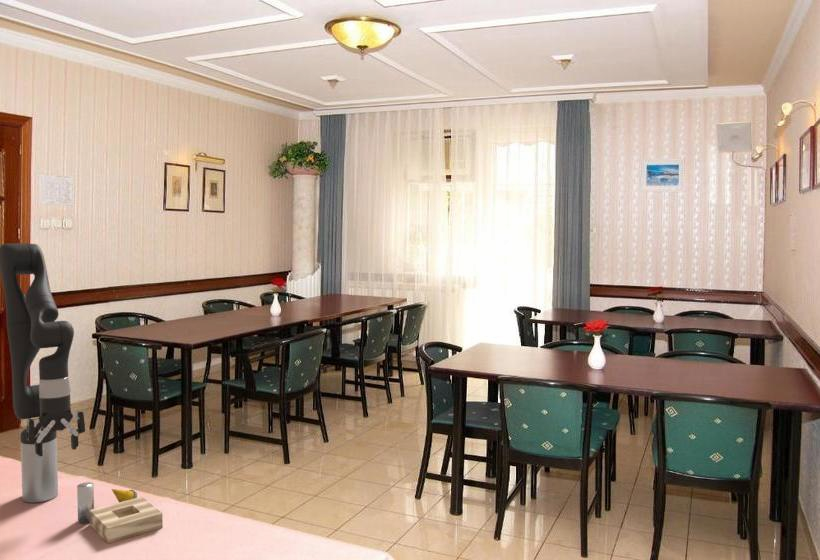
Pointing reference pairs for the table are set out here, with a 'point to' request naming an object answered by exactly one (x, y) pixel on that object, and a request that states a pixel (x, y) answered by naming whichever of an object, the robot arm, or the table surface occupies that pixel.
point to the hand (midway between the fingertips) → (57, 452)
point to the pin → (85, 501)
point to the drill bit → (124, 495)
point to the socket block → (125, 519)
